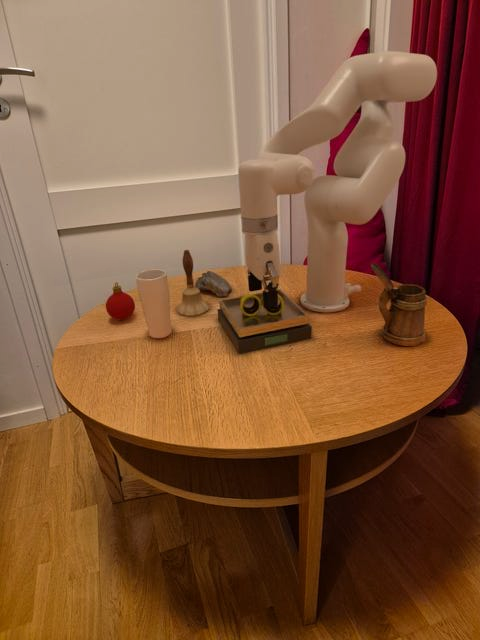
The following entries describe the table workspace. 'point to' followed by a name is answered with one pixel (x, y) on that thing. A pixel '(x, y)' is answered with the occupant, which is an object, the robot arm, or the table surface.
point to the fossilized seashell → (213, 284)
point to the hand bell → (191, 292)
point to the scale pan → (262, 315)
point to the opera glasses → (257, 306)
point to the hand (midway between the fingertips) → (262, 298)
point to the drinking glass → (155, 301)
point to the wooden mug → (402, 311)
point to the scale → (264, 336)
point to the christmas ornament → (120, 304)
